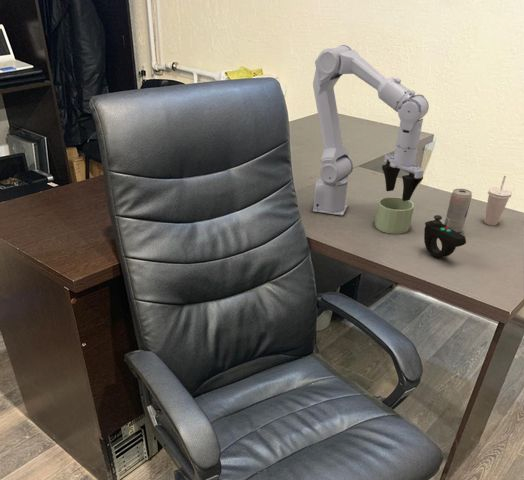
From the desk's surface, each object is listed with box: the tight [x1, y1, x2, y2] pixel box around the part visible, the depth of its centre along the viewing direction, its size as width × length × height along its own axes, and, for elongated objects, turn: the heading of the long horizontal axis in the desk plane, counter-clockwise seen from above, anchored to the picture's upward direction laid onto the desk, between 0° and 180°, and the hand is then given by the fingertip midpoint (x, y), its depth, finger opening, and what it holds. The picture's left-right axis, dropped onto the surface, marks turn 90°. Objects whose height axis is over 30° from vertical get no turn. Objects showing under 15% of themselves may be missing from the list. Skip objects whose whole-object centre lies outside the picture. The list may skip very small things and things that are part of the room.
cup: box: [374, 196, 415, 235], centre depth 152 cm, size 10×10×7 cm
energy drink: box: [443, 188, 473, 235], centre depth 148 cm, size 5×5×12 cm
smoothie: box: [484, 175, 513, 226], centre depth 153 cm, size 6×6×14 cm
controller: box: [423, 214, 467, 259], centre depth 137 cm, size 4×12×10 cm, turn 30°
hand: (397, 195), depth 148 cm, fingers open, 7 cm apart
